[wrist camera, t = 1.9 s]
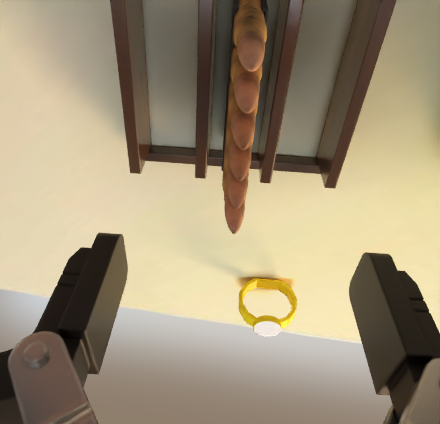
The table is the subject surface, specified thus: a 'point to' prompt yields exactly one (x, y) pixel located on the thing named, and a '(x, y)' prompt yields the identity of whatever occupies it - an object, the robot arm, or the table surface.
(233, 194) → the ammunition clip
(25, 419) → the robot arm
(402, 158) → the table surface
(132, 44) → the slotted rack
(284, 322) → the watch
